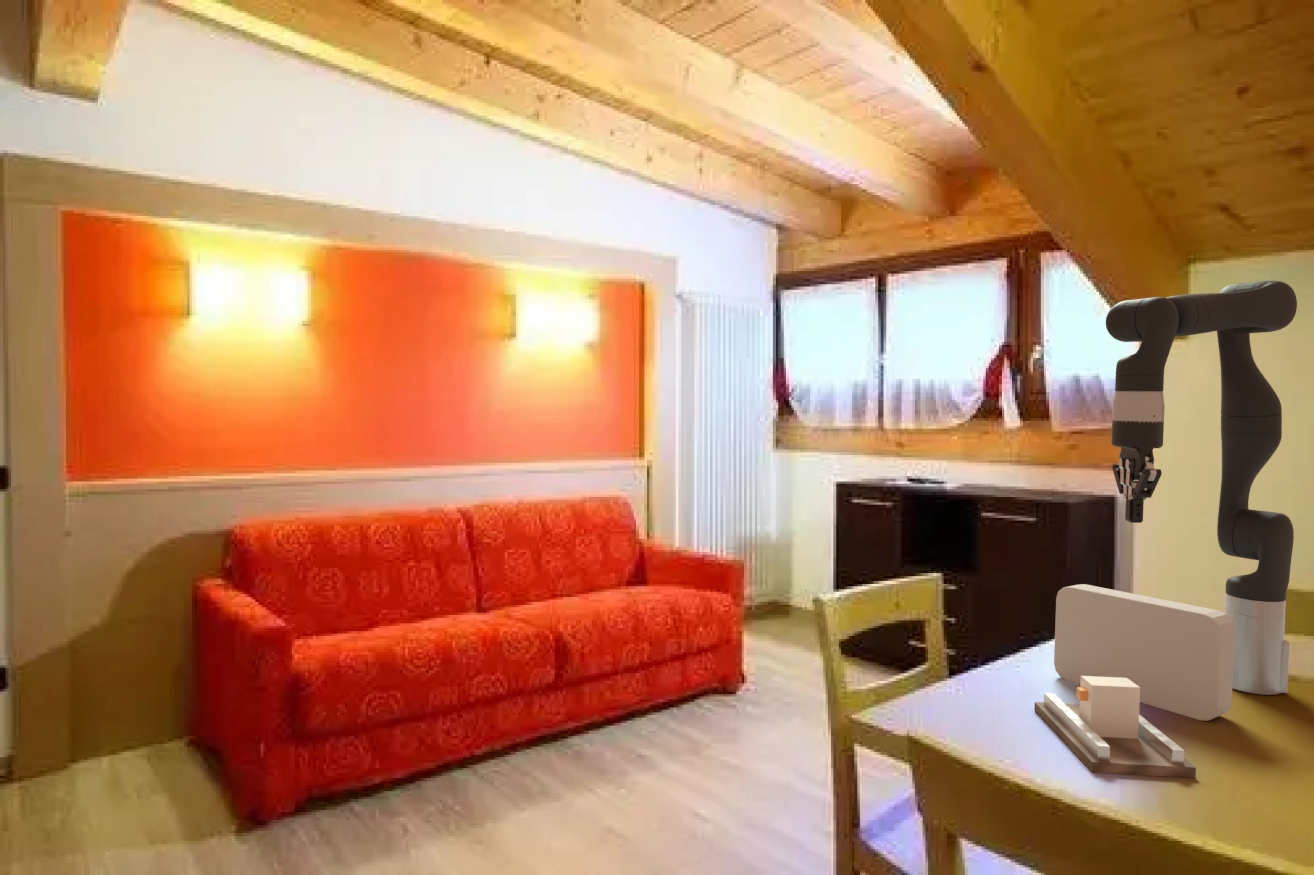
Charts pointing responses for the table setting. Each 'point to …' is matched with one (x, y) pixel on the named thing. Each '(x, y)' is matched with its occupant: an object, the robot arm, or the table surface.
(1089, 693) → the block
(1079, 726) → the mounting rail
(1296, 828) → the table surface
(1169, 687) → the rounded white slab
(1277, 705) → the table surface
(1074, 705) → the mounting board
